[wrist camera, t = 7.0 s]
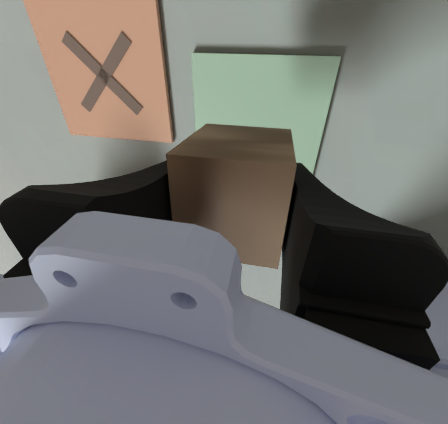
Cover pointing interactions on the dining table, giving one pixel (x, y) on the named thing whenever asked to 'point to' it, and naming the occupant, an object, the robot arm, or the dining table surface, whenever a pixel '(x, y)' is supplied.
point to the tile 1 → (106, 66)
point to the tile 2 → (267, 94)
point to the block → (235, 186)
